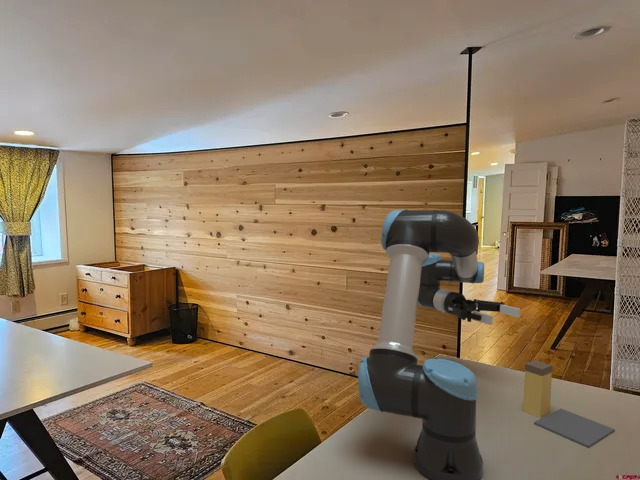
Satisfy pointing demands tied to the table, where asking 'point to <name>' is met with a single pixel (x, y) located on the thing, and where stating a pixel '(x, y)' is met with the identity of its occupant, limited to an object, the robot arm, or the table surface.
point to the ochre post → (537, 388)
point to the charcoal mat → (574, 427)
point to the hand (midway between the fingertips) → (506, 316)
